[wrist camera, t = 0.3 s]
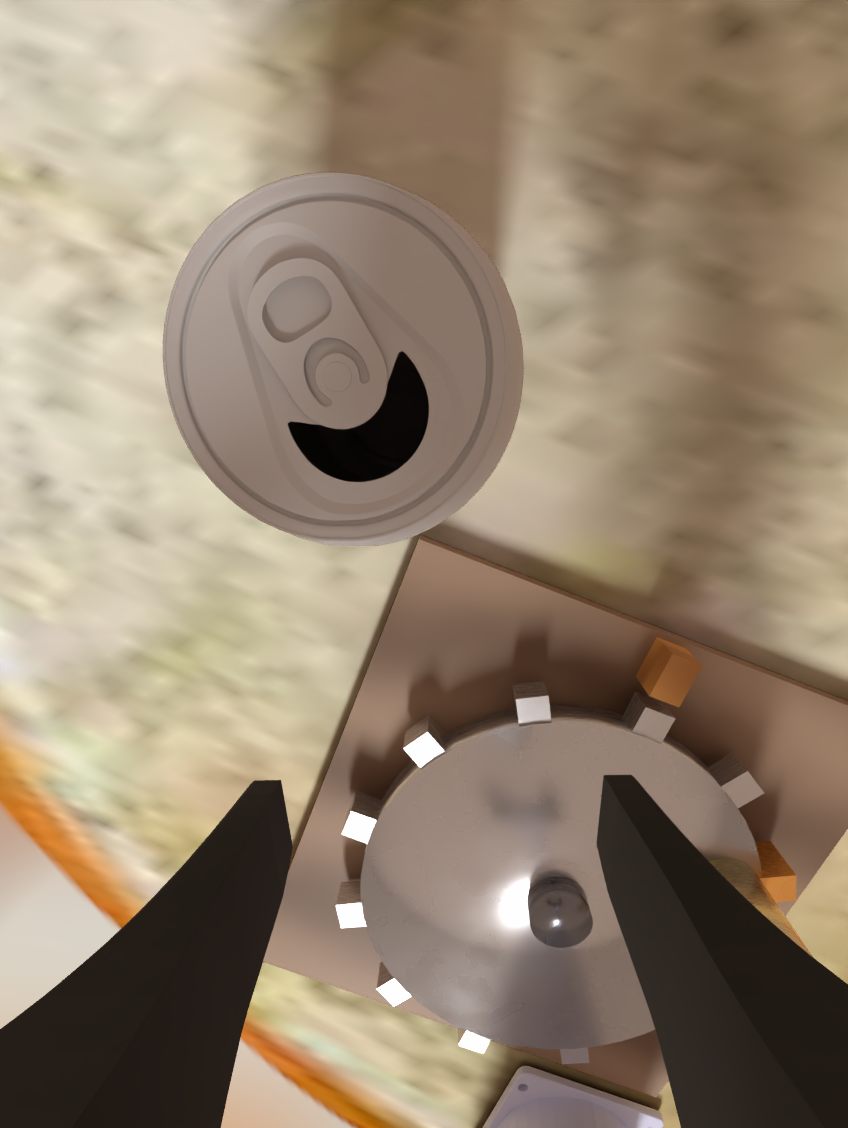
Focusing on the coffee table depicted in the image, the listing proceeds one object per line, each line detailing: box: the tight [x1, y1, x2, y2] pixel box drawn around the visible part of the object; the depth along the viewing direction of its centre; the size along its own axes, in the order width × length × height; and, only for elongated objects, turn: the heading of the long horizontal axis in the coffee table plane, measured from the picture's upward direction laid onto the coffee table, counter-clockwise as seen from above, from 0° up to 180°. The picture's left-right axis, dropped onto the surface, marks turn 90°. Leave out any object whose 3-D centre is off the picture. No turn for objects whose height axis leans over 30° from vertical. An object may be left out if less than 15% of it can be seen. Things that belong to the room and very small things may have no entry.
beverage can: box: [163, 172, 524, 546], centre depth 15 cm, size 6×6×12 cm
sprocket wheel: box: [336, 681, 812, 1064], centre depth 21 cm, size 18×18×6 cm
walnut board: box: [263, 535, 848, 1097], centre depth 24 cm, size 22×21×2 cm
